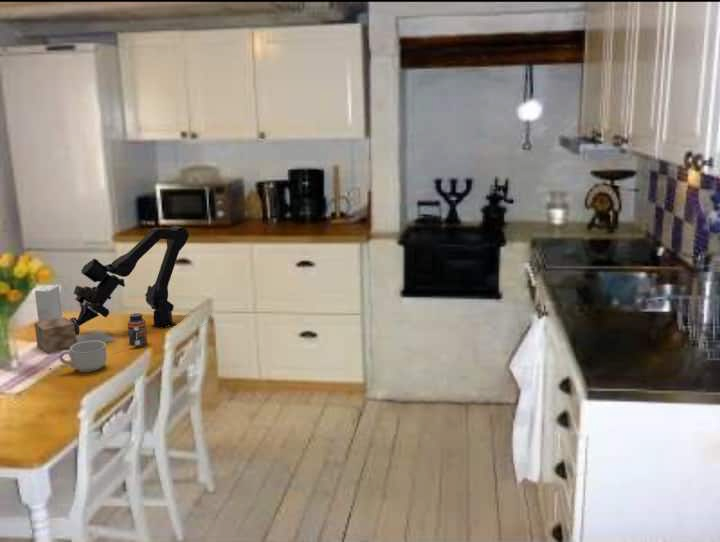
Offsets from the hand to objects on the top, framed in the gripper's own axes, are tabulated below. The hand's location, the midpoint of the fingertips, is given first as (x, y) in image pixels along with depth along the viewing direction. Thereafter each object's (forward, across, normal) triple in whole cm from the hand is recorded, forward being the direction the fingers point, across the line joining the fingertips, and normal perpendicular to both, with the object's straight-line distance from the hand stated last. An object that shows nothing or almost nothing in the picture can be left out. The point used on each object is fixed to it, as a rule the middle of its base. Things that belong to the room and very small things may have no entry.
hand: (77, 325), depth 240 cm
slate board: (+6, 0, +4) cm, 7 cm away
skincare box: (+4, -36, +6) cm, 36 cm away
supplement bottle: (-5, +17, +16) cm, 24 cm away
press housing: (+10, 0, -1) cm, 10 cm away
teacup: (+11, +28, 0) cm, 30 cm away
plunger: (+6, 0, -1) cm, 7 cm away
